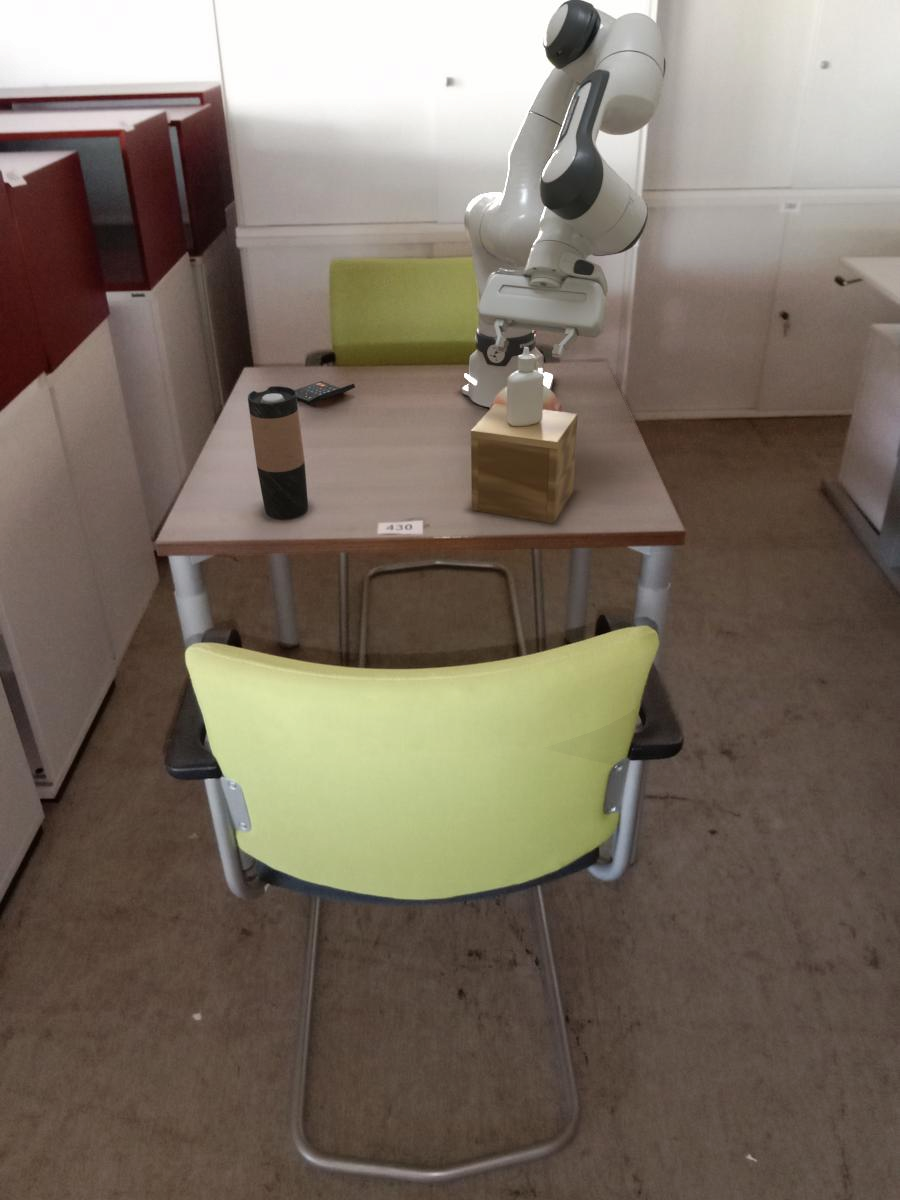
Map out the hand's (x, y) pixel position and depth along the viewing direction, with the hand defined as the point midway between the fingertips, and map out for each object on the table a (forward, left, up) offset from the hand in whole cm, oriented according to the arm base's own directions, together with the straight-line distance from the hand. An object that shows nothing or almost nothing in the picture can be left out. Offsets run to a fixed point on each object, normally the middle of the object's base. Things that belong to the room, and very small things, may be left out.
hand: (528, 353), depth 144 cm
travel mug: (+18, -36, -24) cm, 47 cm away
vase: (-18, -6, -24) cm, 31 cm away
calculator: (-30, -54, -24) cm, 67 cm away
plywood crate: (+2, 0, -24) cm, 24 cm away
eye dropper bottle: (+2, 0, -10) cm, 11 cm away
